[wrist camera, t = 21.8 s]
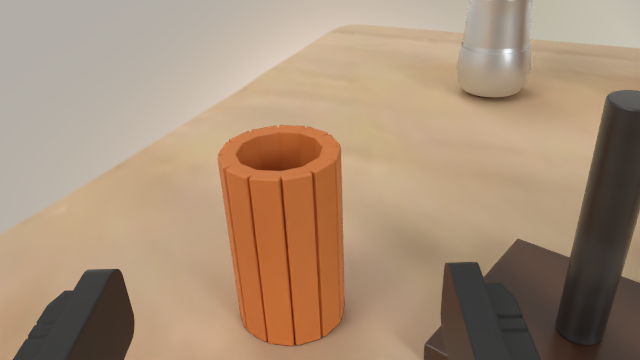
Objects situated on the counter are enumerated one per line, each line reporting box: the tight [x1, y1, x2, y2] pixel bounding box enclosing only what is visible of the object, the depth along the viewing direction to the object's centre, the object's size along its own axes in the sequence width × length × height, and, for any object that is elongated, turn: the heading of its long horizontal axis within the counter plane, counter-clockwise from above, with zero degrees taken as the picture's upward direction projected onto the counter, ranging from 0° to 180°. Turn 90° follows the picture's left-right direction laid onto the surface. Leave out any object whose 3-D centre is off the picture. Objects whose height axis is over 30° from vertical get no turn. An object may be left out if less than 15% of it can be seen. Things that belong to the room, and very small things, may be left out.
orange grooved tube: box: [218, 125, 345, 346], centre depth 27 cm, size 5×5×9 cm
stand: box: [424, 90, 640, 360], centre depth 23 cm, size 10×10×12 cm
